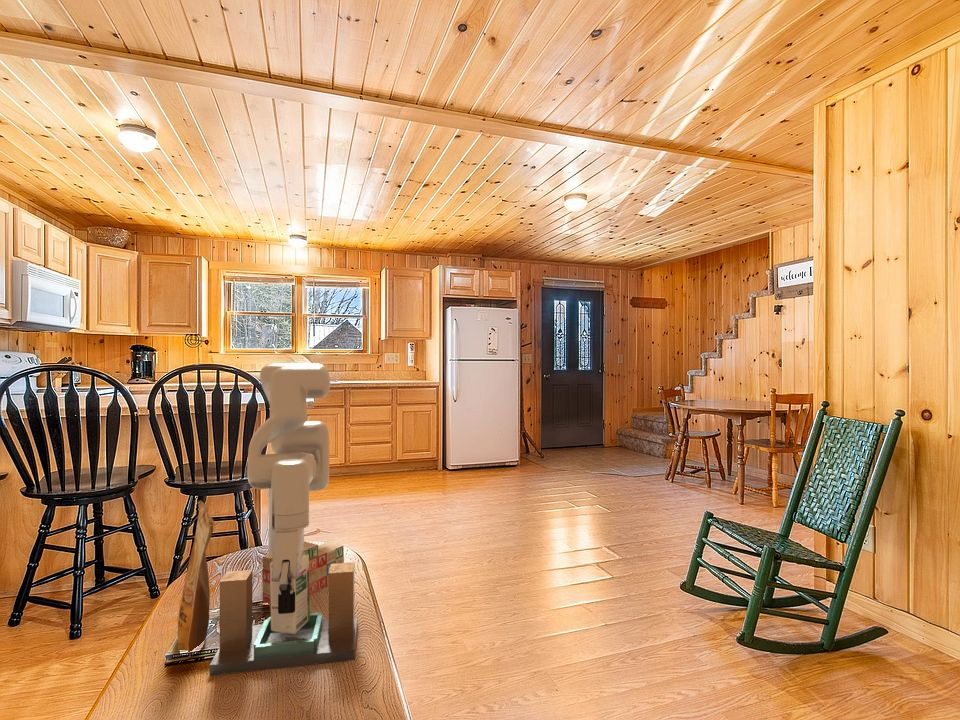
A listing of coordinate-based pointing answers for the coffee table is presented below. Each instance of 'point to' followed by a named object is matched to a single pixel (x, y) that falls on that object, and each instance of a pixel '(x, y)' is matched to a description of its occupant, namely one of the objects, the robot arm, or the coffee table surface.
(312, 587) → the stack of blocks
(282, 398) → the robot arm
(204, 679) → the coffee table surface
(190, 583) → the pancake mix bag
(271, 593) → the syrup box
